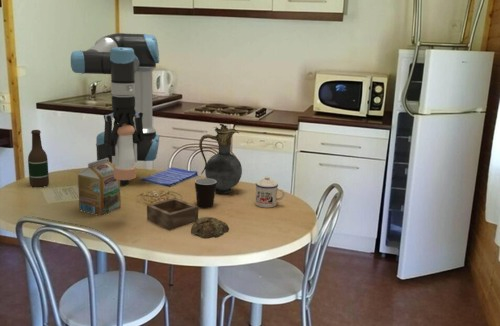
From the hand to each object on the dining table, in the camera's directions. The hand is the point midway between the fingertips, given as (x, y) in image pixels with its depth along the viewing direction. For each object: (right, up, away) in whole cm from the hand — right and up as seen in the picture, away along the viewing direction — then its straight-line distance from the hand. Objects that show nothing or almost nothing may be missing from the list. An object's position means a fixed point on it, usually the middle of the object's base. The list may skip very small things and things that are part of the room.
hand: (124, 163), depth 164 cm
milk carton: (-14, -18, +18) cm, 29 cm away
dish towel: (+5, -8, +62) cm, 62 cm away
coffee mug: (+25, -17, +28) cm, 41 cm away
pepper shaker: (0, -5, +1) cm, 5 cm away
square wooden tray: (+15, -21, +10) cm, 27 cm away
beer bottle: (-48, -10, +42) cm, 64 cm away
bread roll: (+28, -24, +2) cm, 37 cm away
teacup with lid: (+51, -17, +31) cm, 62 cm away
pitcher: (+29, -12, +46) cm, 56 cm away
